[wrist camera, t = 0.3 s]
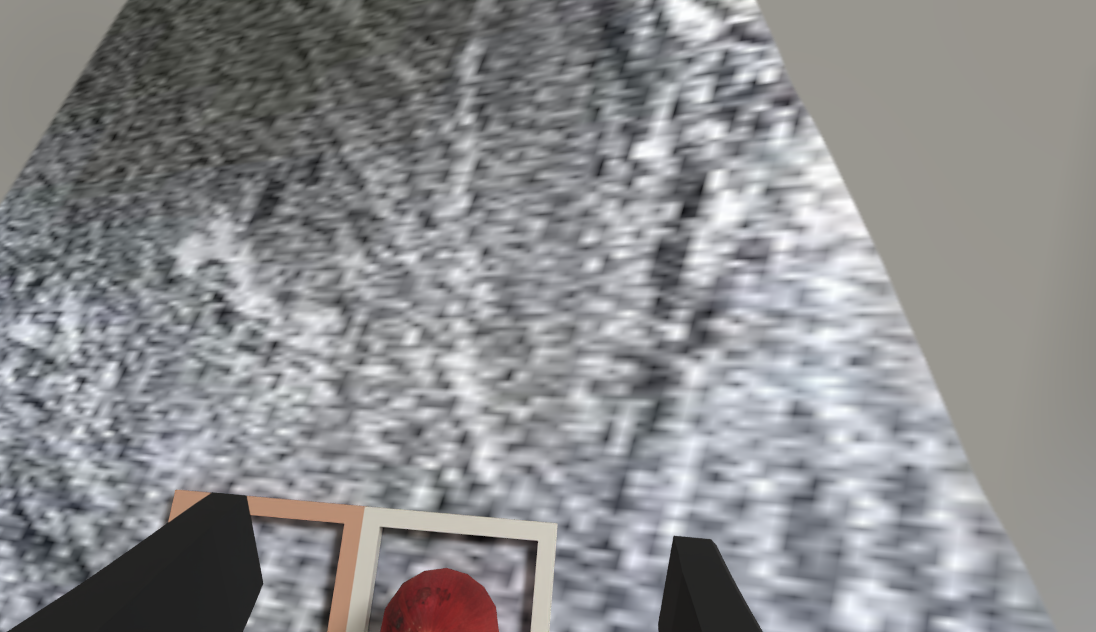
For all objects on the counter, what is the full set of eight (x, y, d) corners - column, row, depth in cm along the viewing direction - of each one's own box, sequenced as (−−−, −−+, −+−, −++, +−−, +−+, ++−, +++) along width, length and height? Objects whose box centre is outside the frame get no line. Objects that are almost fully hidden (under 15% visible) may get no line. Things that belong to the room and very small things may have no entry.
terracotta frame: (336, 718, 36) (331, 723, 35) (136, 699, 36) (127, 703, 35) (368, 506, 38) (364, 506, 38) (183, 490, 39) (175, 489, 38)
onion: (377, 631, 37) (330, 667, 29) (440, 541, 38) (411, 552, 30) (462, 698, 36) (437, 753, 28) (523, 603, 37) (515, 630, 29)
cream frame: (540, 739, 35) (540, 744, 34) (336, 718, 36) (331, 723, 35) (557, 523, 38) (557, 523, 37) (368, 506, 38) (364, 506, 38)
